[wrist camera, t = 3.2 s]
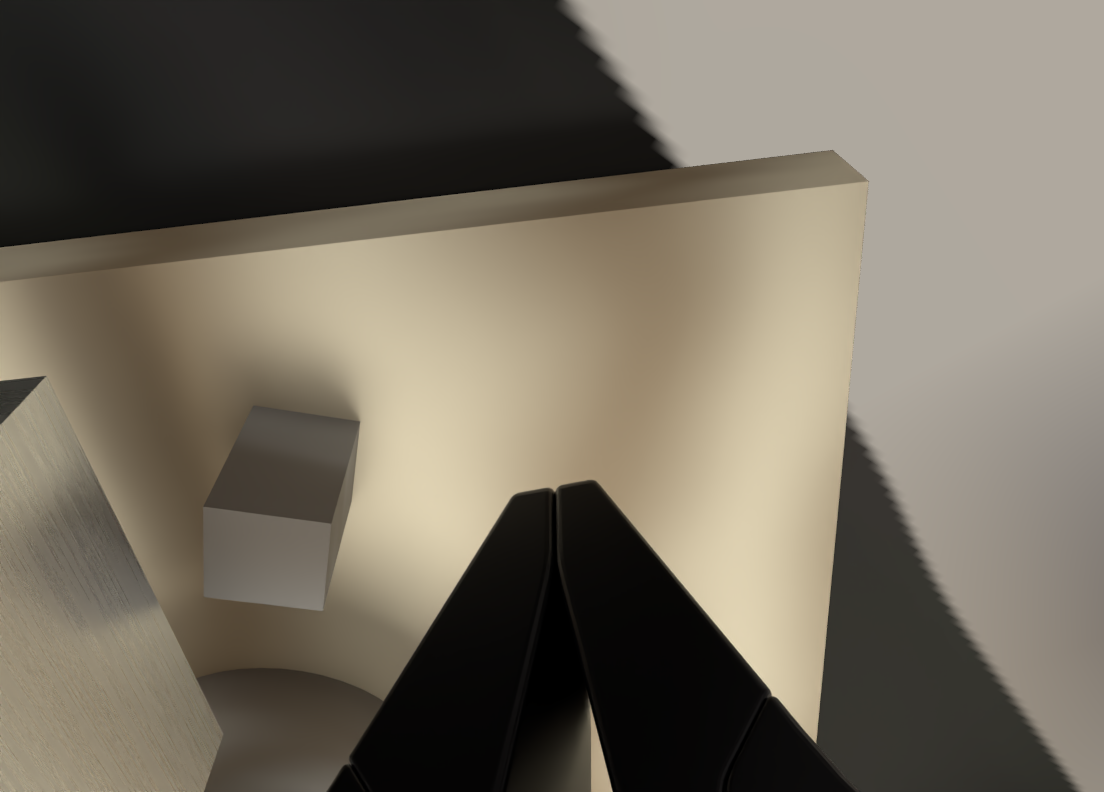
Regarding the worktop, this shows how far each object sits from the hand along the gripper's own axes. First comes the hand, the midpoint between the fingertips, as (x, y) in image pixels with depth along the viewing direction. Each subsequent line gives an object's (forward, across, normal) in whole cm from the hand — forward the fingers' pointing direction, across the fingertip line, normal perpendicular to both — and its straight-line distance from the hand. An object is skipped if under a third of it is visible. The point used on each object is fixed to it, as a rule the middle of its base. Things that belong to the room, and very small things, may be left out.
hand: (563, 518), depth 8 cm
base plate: (+6, +7, +9) cm, 13 cm away
